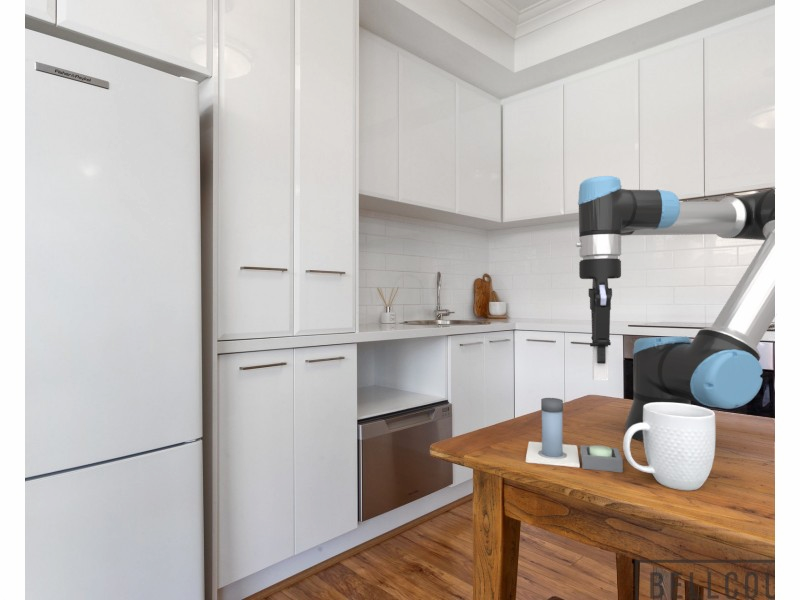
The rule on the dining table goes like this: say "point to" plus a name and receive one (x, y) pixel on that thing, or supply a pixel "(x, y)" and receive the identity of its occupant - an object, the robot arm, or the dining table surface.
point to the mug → (675, 443)
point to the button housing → (601, 460)
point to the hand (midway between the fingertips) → (600, 379)
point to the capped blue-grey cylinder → (552, 427)
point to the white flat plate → (566, 459)
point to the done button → (600, 451)
